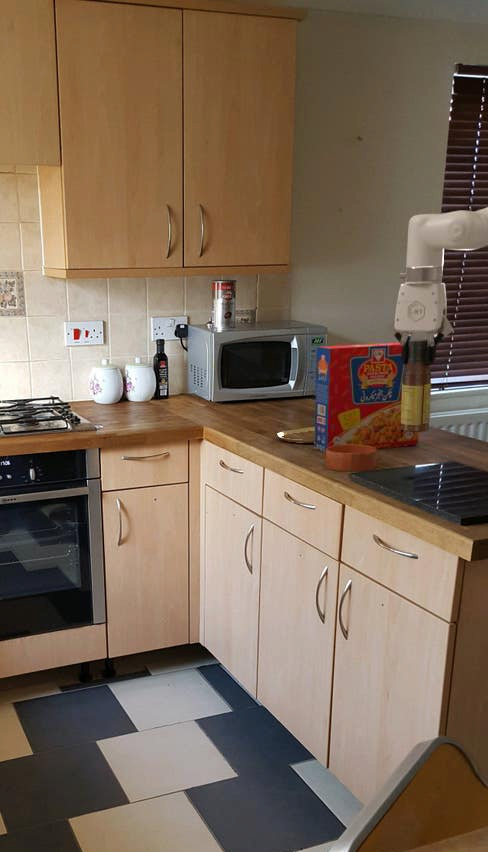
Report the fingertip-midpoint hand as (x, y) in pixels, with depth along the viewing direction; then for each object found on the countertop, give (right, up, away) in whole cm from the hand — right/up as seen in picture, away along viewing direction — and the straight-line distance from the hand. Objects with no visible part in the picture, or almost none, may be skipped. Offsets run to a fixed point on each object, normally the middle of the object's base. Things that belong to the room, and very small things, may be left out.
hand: (418, 363), depth 192 cm
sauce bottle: (0, -14, +5) cm, 15 cm away
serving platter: (-6, -5, +73) cm, 73 cm away
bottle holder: (-8, -19, +30) cm, 37 cm away
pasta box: (+1, -11, +55) cm, 56 cm away
